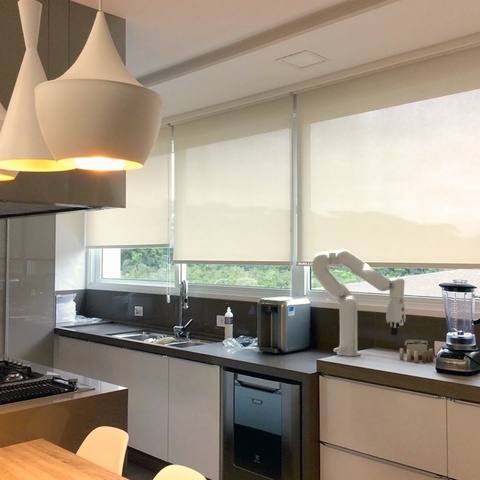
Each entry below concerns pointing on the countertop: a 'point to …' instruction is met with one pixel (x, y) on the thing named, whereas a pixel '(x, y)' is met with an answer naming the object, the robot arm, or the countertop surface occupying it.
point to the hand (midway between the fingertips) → (394, 334)
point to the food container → (416, 347)
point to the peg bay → (426, 355)
